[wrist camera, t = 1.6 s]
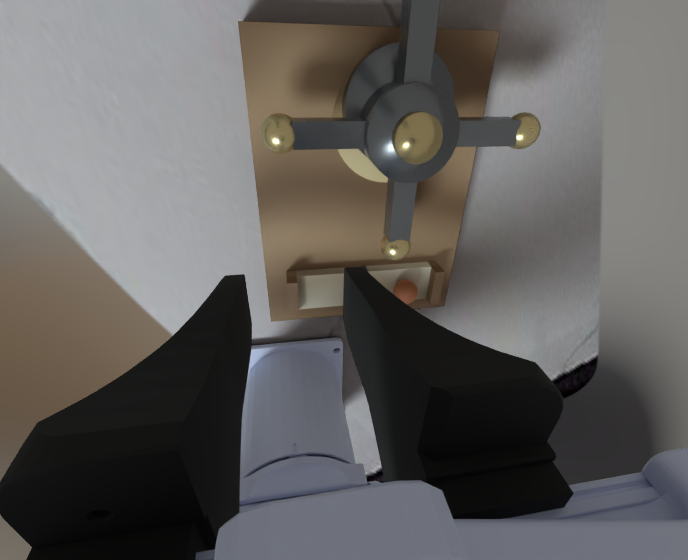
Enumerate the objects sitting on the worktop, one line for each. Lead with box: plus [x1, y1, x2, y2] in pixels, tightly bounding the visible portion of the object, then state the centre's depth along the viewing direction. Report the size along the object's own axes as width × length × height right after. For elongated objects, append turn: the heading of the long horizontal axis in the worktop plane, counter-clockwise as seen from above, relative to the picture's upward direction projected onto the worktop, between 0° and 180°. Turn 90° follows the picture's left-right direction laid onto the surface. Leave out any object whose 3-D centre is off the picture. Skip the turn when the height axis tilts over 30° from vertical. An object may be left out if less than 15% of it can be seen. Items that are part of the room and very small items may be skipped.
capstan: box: [261, 0, 541, 260], centre depth 16 cm, size 13×13×4 cm
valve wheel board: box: [238, 21, 500, 322], centre depth 20 cm, size 16×12×4 cm
